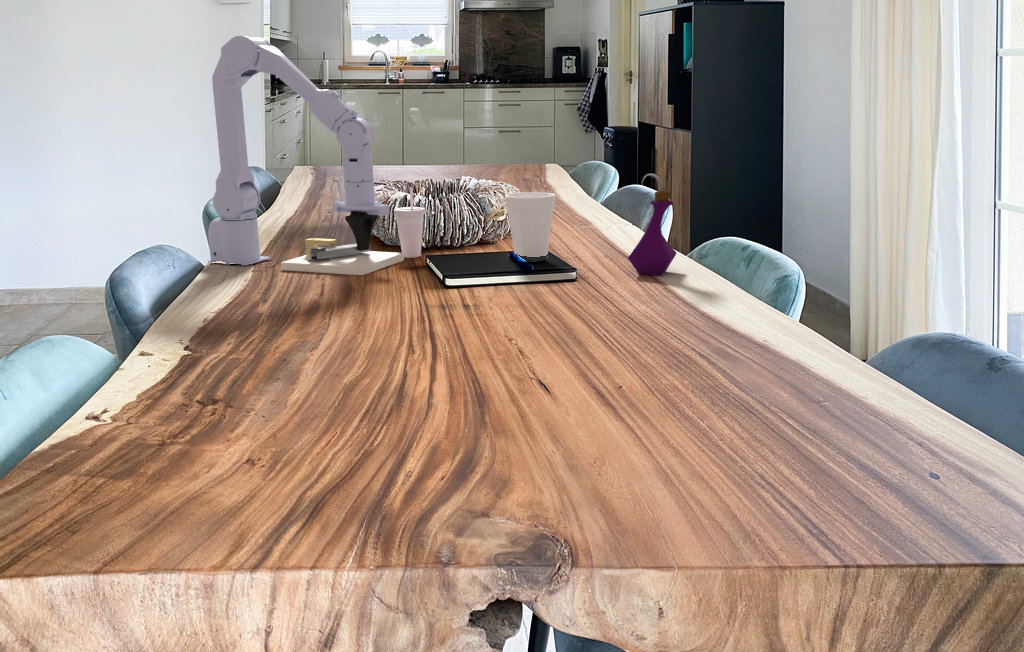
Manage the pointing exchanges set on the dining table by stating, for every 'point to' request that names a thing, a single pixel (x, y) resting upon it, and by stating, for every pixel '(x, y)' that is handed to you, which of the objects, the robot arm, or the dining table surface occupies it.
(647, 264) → the perfume bottle
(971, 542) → the dining table surface
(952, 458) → the dining table surface
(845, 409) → the dining table surface
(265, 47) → the robot arm
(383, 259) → the base board
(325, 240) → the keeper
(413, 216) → the smoothie
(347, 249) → the latch bar
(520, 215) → the cup
